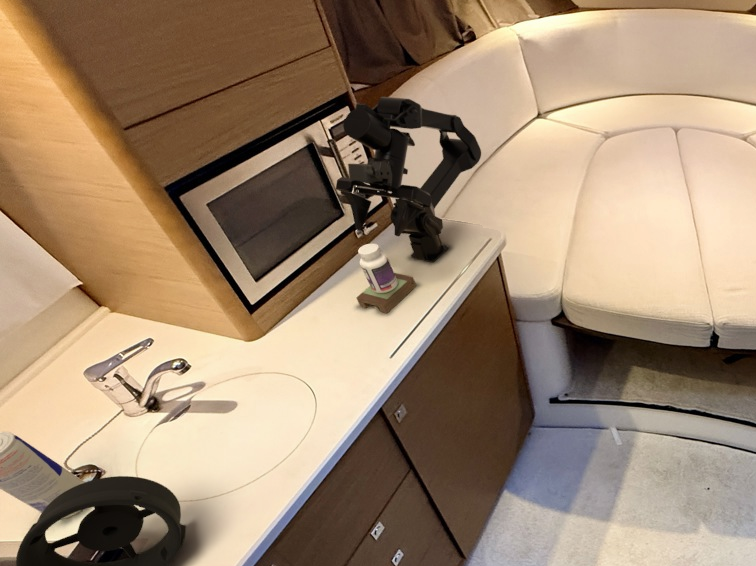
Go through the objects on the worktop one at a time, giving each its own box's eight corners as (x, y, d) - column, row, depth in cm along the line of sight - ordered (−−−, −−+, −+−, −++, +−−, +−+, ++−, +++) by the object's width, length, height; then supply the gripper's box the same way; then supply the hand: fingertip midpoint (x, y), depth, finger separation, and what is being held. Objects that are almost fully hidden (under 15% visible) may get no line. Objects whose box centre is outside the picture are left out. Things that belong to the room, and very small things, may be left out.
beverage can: (106, 488, 80) (24, 431, 69) (74, 522, 76) (-18, 467, 65) (73, 485, 80) (-13, 428, 70) (40, 519, 76) (-57, 464, 66)
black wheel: (78, 447, 67) (59, 488, 60) (208, 475, 77) (205, 513, 69) (13, 542, 66) (-15, 595, 59) (153, 559, 76) (144, 606, 69)
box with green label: (391, 279, 117) (387, 270, 116) (416, 285, 116) (412, 276, 114) (360, 306, 111) (355, 297, 109) (387, 313, 109) (382, 304, 107)
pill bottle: (401, 278, 113) (386, 241, 107) (393, 294, 110) (376, 256, 103) (377, 278, 113) (360, 241, 107) (368, 294, 110) (349, 256, 103)
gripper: (320, 138, 100) (307, 217, 100) (404, 147, 97) (390, 229, 97) (361, 159, 111) (349, 230, 111) (438, 168, 108) (426, 242, 108)
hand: (377, 233), depth 106 cm, fingers open, 9 cm apart
